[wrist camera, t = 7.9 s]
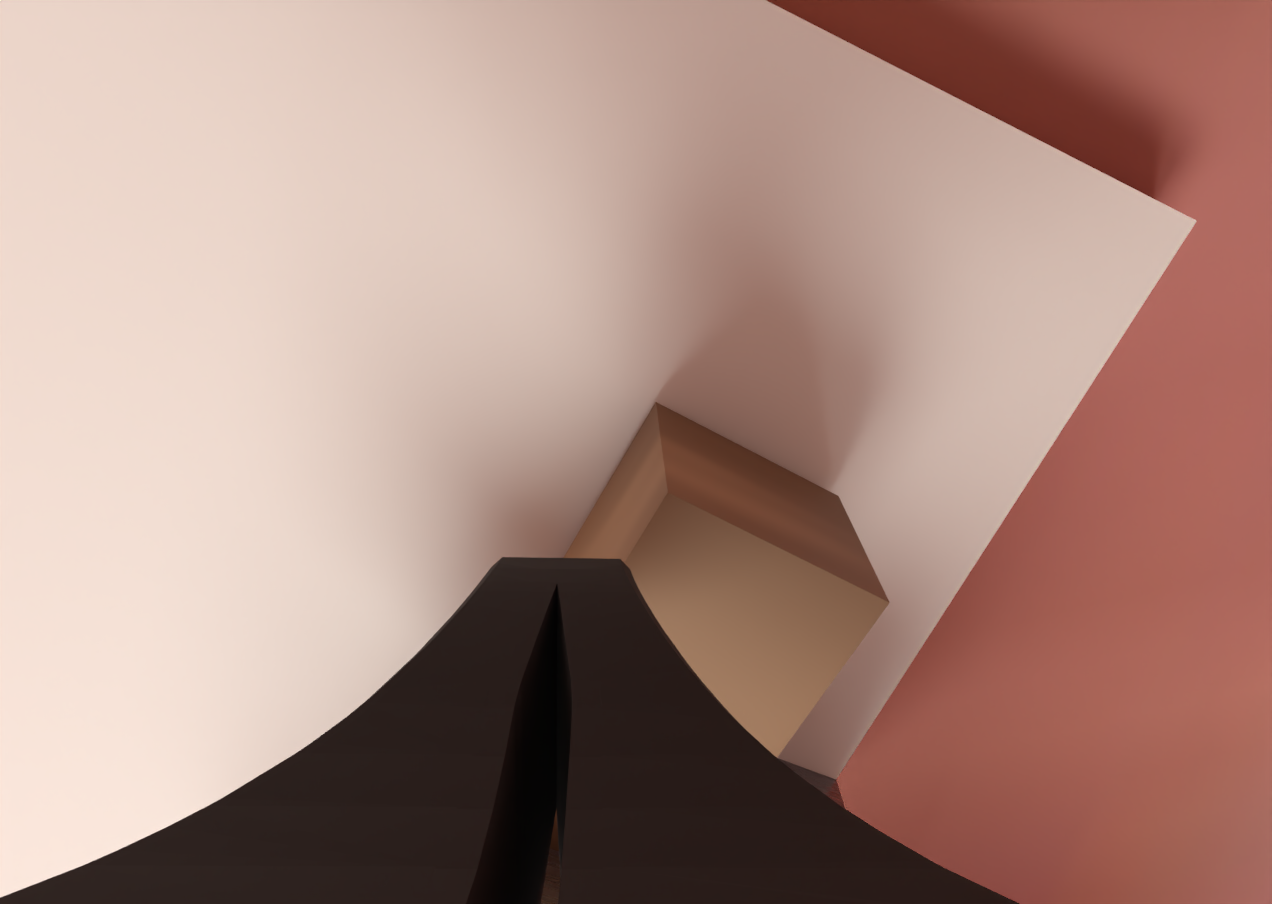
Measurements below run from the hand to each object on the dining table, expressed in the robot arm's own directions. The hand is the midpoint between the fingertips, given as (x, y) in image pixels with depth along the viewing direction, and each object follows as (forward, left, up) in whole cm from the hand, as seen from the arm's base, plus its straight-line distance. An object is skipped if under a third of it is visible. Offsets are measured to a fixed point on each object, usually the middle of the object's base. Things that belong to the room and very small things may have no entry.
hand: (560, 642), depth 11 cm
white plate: (+2, +5, -6) cm, 8 cm away
